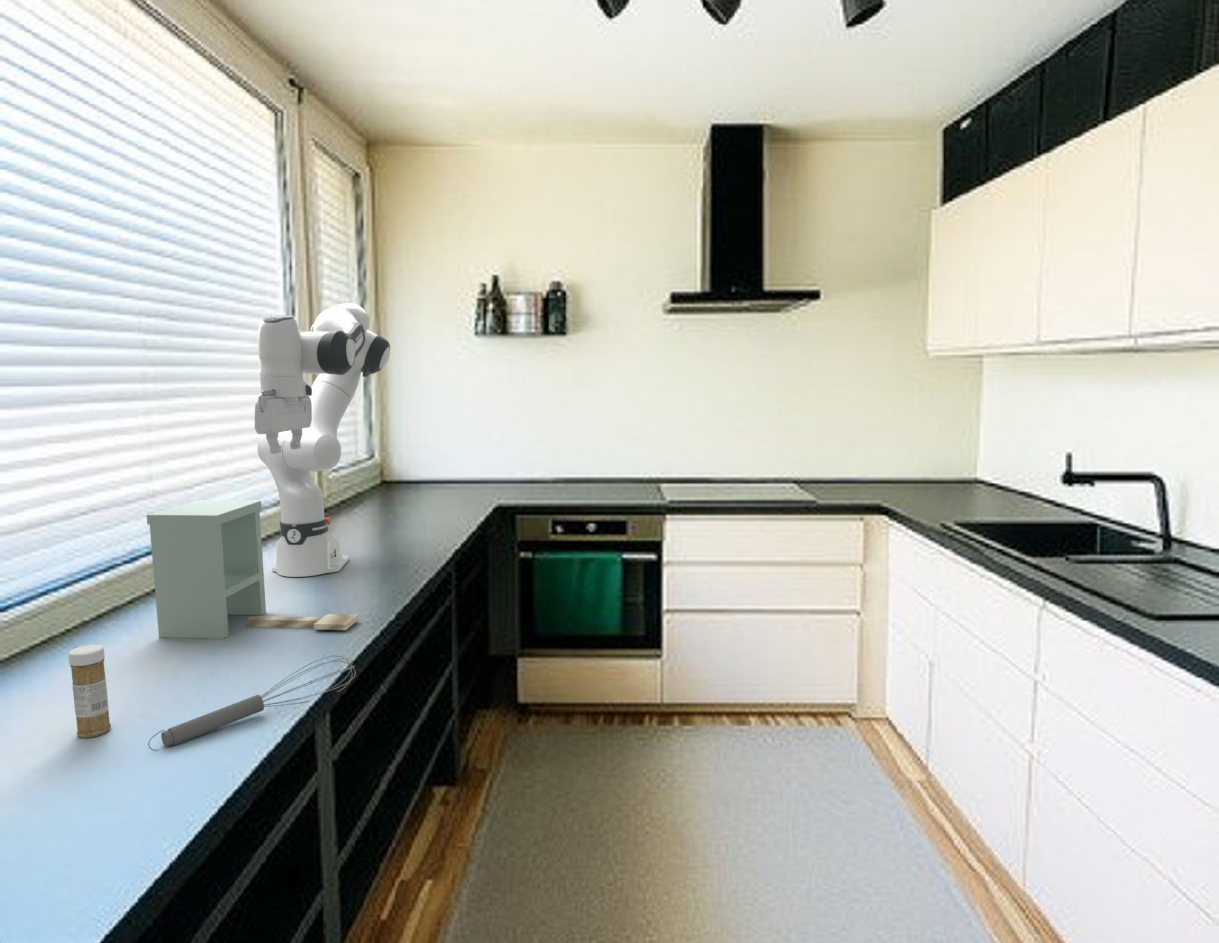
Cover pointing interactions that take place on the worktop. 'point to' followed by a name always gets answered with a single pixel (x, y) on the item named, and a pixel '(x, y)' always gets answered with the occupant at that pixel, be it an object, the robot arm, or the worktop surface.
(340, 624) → the turner
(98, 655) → the sprinkles bottle
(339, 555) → the robot arm
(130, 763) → the worktop surface
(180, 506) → the shelf
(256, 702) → the kitchen whisk
